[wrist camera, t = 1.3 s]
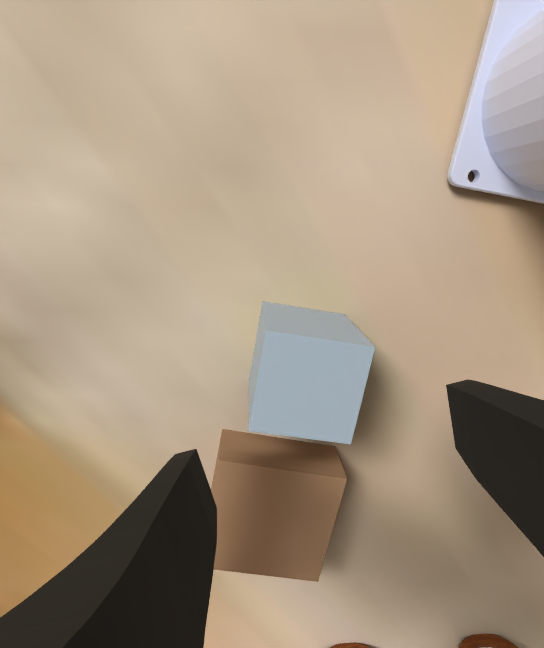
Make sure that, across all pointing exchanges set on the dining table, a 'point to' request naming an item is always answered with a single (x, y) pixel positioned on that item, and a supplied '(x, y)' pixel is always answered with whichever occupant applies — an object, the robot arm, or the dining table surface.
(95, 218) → the dining table surface
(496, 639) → the glasses
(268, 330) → the slate cube
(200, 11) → the dining table surface
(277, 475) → the walnut slab
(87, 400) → the dining table surface
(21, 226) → the dining table surface
